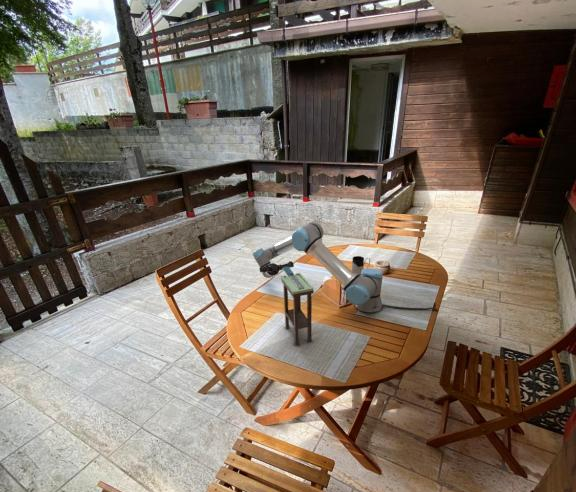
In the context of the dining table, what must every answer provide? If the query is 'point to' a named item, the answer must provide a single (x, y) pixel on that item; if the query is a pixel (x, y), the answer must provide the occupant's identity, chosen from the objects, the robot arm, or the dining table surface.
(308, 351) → the dining table surface
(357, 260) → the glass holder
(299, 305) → the stand
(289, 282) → the tray
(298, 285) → the blue grooved block
